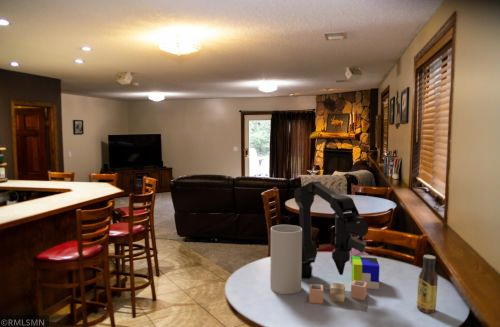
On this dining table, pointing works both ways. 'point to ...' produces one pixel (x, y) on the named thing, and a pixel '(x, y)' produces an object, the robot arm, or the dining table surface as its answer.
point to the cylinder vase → (286, 259)
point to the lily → (356, 253)
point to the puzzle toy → (366, 271)
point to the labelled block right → (359, 290)
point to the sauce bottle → (427, 285)
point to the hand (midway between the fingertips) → (342, 270)
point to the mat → (347, 304)
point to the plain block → (337, 292)
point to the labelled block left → (316, 293)
